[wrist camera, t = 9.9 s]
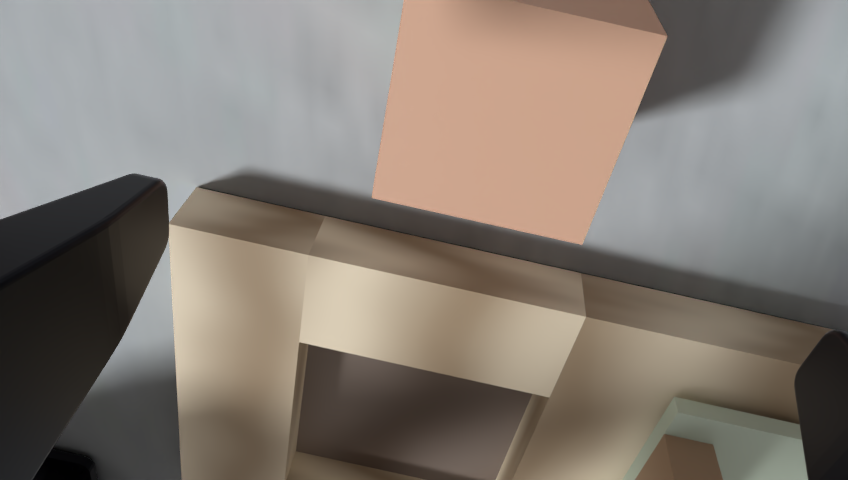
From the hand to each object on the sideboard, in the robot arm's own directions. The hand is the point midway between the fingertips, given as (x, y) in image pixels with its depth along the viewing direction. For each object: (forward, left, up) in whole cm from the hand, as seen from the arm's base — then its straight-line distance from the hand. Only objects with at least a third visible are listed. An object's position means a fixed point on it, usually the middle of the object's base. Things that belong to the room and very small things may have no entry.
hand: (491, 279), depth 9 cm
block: (0, 0, -10) cm, 10 cm away
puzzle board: (+4, -14, -9) cm, 17 cm away
